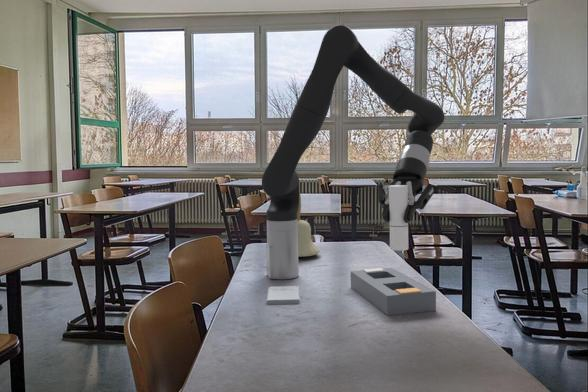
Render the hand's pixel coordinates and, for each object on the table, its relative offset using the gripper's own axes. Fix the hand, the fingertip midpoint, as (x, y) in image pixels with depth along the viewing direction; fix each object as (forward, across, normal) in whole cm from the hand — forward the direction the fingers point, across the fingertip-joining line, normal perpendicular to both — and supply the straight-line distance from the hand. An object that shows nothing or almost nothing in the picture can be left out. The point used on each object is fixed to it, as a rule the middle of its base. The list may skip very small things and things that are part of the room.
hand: (395, 220), depth 112 cm
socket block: (+11, -4, +18) cm, 22 cm away
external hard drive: (+19, -29, +11) cm, 36 cm away
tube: (+4, 0, +7) cm, 8 cm away
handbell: (-12, -51, +42) cm, 67 cm away
